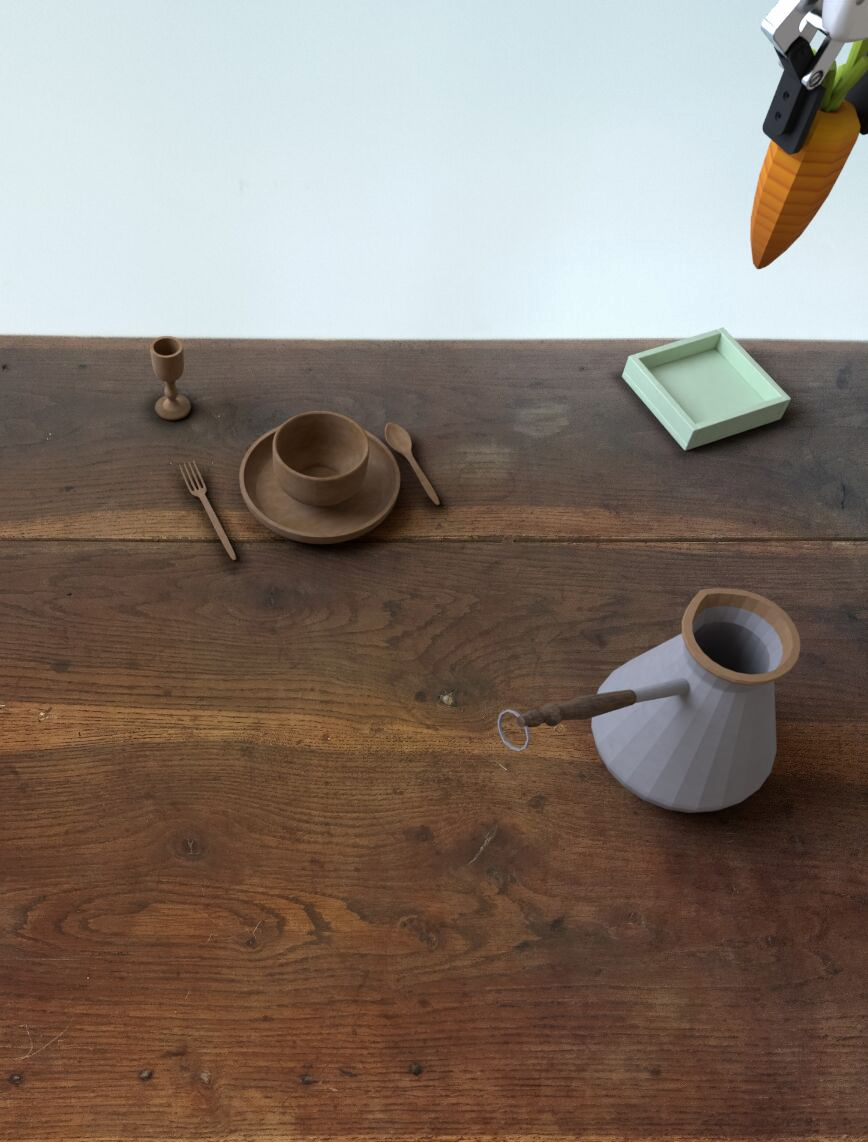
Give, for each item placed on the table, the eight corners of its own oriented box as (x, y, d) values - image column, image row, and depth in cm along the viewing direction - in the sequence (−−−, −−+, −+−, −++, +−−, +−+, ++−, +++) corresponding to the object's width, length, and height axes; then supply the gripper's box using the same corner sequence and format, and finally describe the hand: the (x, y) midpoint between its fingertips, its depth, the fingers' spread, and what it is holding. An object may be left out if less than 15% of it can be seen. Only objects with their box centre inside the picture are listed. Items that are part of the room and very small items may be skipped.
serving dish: (714, 347, 90) (723, 326, 88) (780, 419, 86) (791, 398, 84) (621, 376, 88) (628, 355, 86) (684, 451, 84) (693, 430, 82)
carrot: (743, 295, 75) (840, 68, 62) (710, 252, 77) (796, 25, 64) (806, 283, 75) (915, 57, 63) (771, 241, 78) (869, 15, 65)
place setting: (237, 585, 76) (234, 529, 71) (143, 403, 85) (135, 341, 80) (456, 514, 80) (468, 455, 75) (343, 347, 89) (347, 285, 84)
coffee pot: (684, 655, 74) (770, 501, 61) (795, 785, 69) (914, 648, 56) (418, 778, 68) (449, 638, 55) (517, 930, 63) (577, 814, 50)
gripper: (888, -186, 49) (740, 196, 64) (1164, -237, 52) (960, 135, 68) (787, -246, 52) (670, 130, 68) (1053, -290, 56) (884, 76, 72)
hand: (817, 129), depth 68 cm, fingers closed on carrot, 4 cm apart
